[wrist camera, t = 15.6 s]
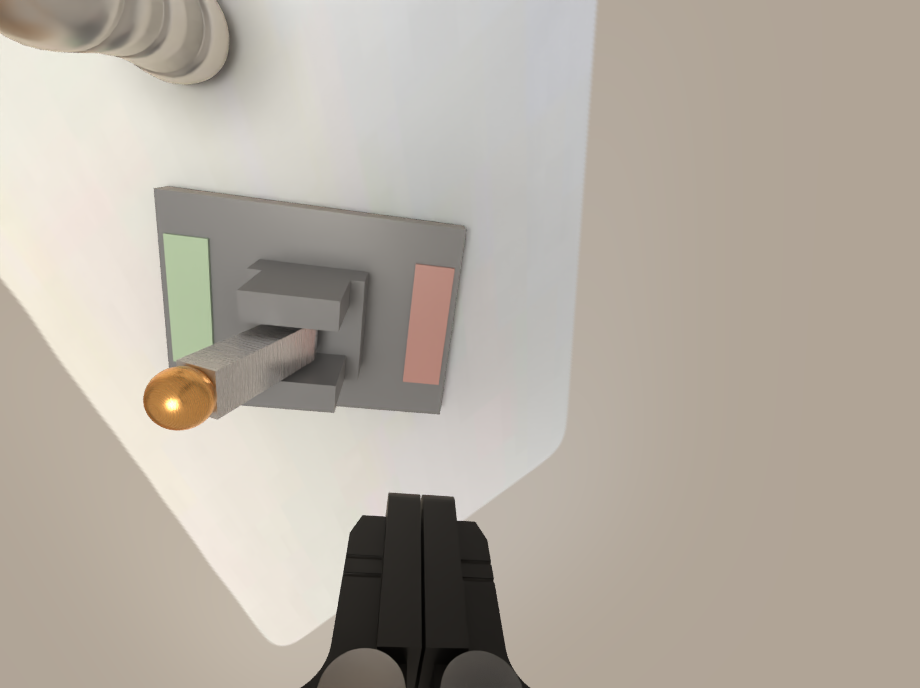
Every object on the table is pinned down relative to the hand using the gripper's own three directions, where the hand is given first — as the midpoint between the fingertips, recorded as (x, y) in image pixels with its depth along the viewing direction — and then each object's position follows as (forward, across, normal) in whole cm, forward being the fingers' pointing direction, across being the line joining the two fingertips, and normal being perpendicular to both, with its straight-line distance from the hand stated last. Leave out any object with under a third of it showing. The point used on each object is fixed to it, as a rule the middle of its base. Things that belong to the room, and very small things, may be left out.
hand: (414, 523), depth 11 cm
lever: (+24, +7, +6) cm, 26 cm away
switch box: (+30, +7, +6) cm, 31 cm away
